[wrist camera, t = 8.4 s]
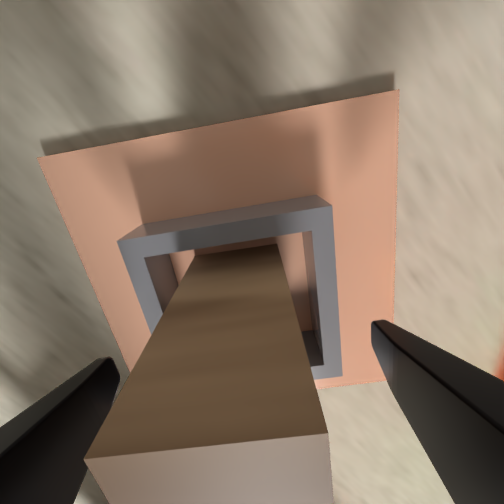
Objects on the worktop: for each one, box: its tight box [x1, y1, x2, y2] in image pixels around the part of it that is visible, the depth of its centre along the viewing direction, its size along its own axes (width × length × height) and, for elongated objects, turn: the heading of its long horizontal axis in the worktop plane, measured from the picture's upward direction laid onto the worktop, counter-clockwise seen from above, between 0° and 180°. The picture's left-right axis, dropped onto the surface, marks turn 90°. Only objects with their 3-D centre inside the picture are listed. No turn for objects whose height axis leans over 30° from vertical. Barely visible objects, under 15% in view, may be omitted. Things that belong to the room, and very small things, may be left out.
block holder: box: [37, 89, 399, 389], centre depth 12 cm, size 15×15×3 cm
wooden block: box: [83, 244, 334, 504], centre depth 9 cm, size 4×4×9 cm
